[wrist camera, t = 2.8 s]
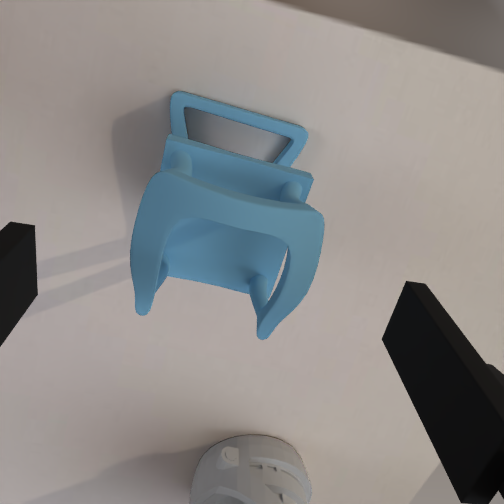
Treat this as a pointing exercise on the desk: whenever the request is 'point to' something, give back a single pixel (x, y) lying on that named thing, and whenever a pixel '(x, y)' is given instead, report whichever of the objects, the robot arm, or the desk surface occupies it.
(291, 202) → the chair
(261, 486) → the grey tall piece
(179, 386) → the desk surface
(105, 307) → the desk surface
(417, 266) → the desk surface
